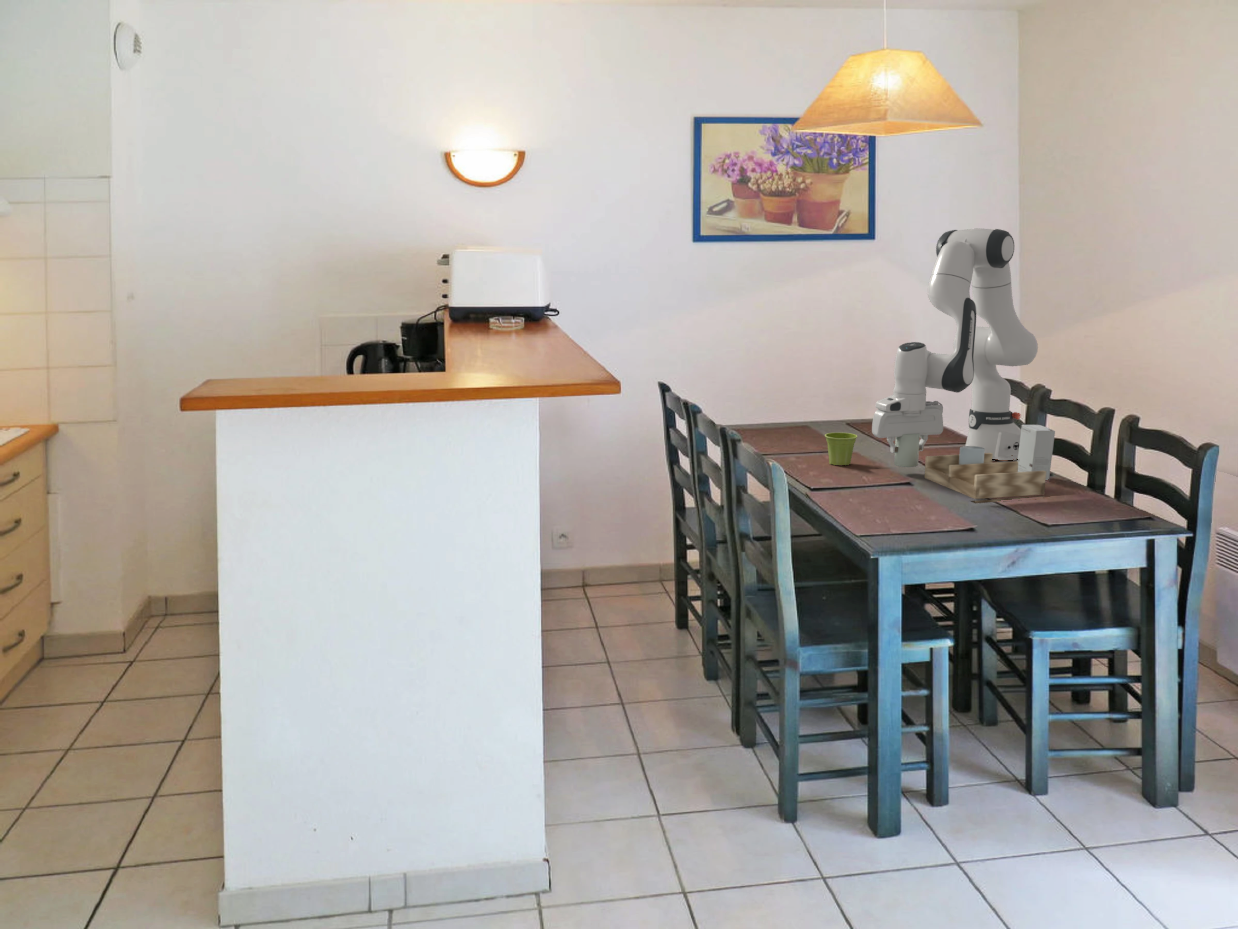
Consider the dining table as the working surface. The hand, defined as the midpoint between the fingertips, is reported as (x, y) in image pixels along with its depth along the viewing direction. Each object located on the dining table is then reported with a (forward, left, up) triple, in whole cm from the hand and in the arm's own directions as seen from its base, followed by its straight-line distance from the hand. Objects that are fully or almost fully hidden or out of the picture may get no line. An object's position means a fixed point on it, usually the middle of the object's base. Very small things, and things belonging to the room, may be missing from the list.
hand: (906, 451), depth 309 cm
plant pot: (+9, -22, -8) cm, 25 cm away
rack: (-13, +18, -8) cm, 23 cm away
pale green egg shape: (0, 0, -4) cm, 4 cm away
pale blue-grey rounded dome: (-13, +12, -6) cm, 19 cm away
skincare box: (-34, +10, -8) cm, 36 cm away
